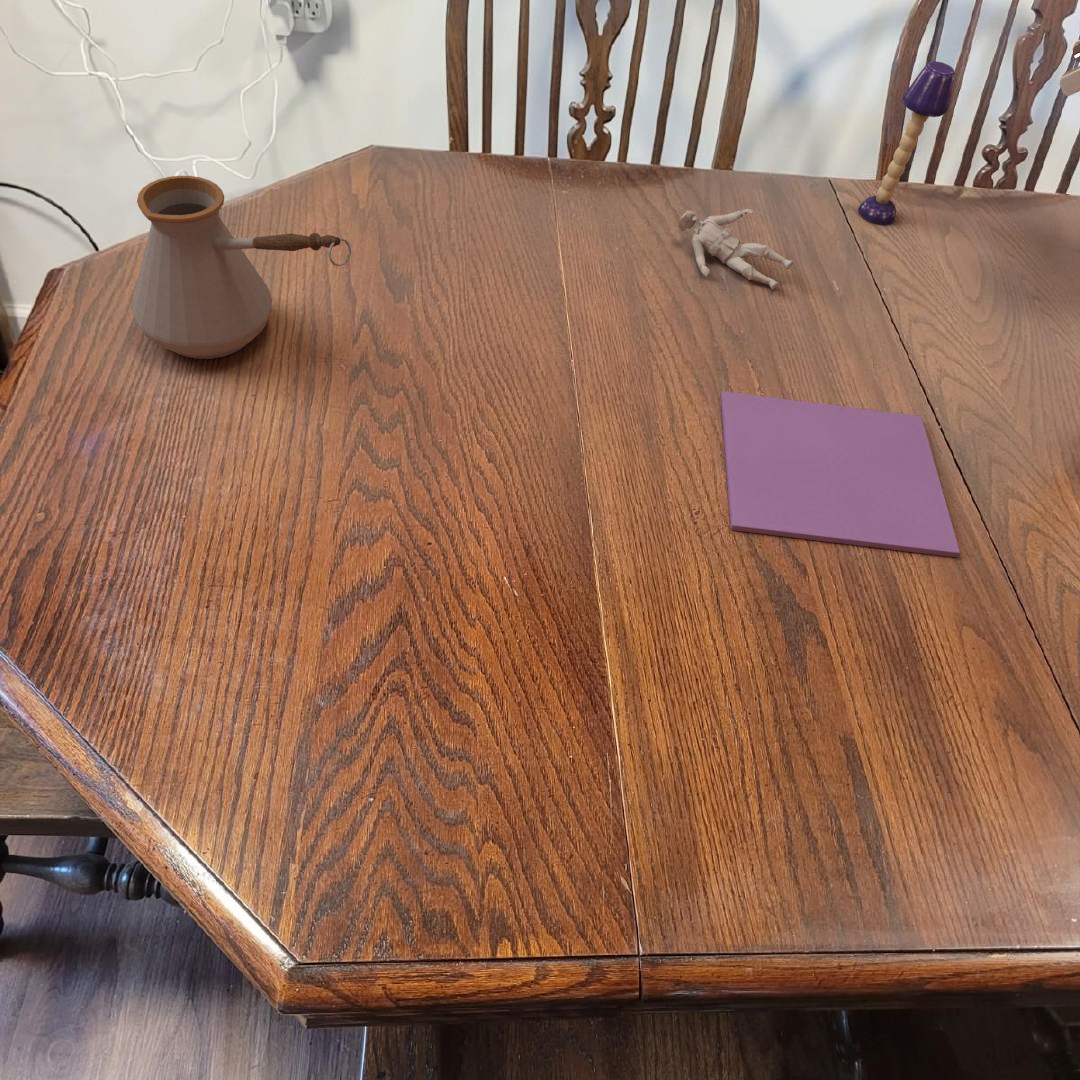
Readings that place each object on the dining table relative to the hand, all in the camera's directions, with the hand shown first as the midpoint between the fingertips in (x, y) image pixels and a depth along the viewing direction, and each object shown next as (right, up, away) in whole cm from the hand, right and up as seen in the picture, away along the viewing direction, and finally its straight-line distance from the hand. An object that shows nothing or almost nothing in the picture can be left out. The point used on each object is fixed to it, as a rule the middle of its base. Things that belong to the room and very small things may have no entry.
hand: (1068, 69), depth 90 cm
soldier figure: (-31, -17, +7) cm, 36 cm away
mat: (-26, -39, -11) cm, 49 cm away
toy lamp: (-12, -8, +17) cm, 23 cm away
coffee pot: (-75, -29, -9) cm, 81 cm away
